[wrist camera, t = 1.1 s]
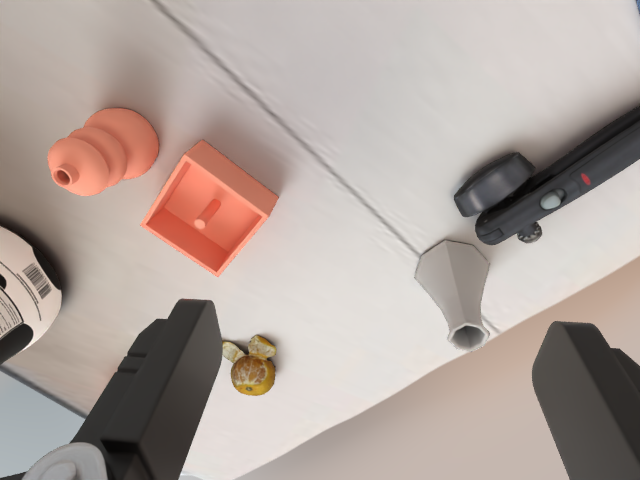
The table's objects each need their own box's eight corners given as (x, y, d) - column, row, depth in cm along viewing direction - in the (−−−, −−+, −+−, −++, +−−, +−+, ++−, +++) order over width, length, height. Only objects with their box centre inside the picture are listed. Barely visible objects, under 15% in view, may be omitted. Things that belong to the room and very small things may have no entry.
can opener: (479, 238, 40) (493, 271, 35) (444, 185, 37) (453, 212, 33) (685, 134, 33) (737, 157, 28) (657, 60, 30) (709, 71, 26)
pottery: (278, 197, 40) (252, 249, 32) (230, 255, 45) (196, 314, 36) (118, 75, 36) (39, 99, 28) (82, 153, 41) (5, 193, 32)
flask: (402, 278, 43) (407, 346, 35) (442, 227, 40) (459, 290, 31) (458, 306, 44) (476, 379, 36) (502, 259, 41) (534, 328, 32)
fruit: (271, 333, 50) (264, 355, 47) (292, 378, 54) (286, 401, 51) (213, 341, 52) (202, 363, 49) (237, 384, 56) (228, 406, 53)
